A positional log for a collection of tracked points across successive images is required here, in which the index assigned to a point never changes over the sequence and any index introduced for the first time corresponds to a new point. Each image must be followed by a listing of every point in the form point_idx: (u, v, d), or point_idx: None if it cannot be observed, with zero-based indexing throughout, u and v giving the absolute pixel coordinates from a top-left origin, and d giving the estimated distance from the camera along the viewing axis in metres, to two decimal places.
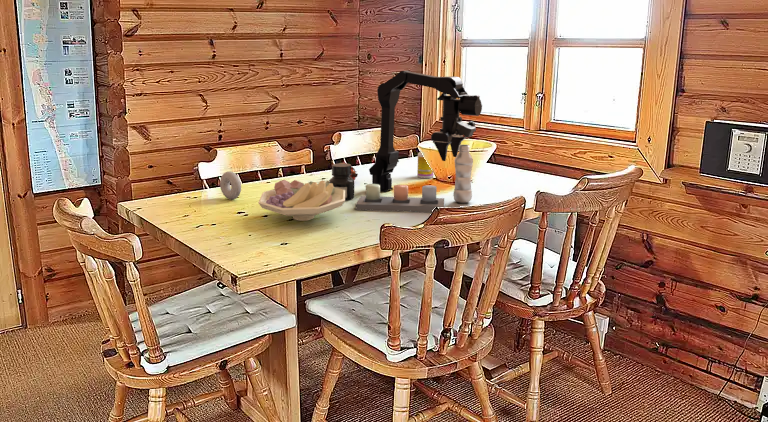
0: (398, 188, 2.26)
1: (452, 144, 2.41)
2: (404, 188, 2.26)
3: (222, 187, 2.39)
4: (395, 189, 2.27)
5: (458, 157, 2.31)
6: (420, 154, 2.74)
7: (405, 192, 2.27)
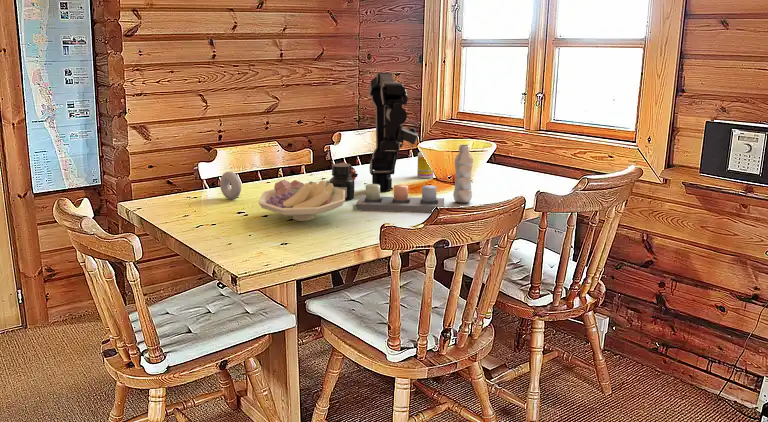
0: (398, 188, 2.26)
1: None
2: (404, 188, 2.26)
3: (222, 187, 2.39)
4: (395, 189, 2.27)
5: (458, 157, 2.31)
6: (420, 154, 2.74)
7: (405, 192, 2.27)
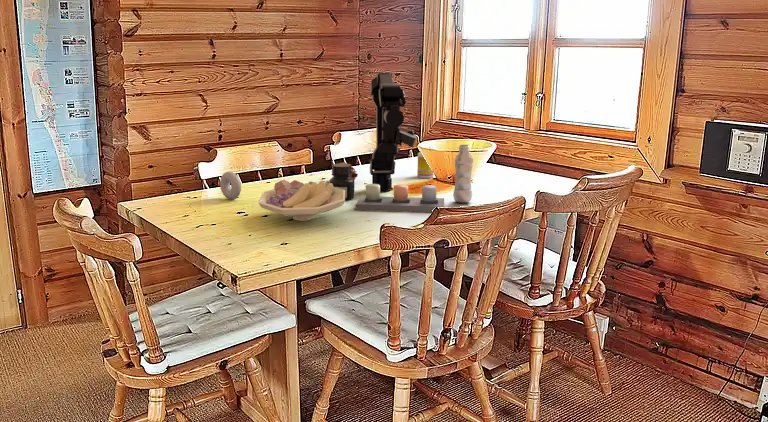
0: (398, 188, 2.26)
1: None
2: (404, 188, 2.26)
3: (222, 187, 2.39)
4: (395, 189, 2.27)
5: (458, 157, 2.31)
6: (420, 154, 2.74)
7: (405, 192, 2.27)
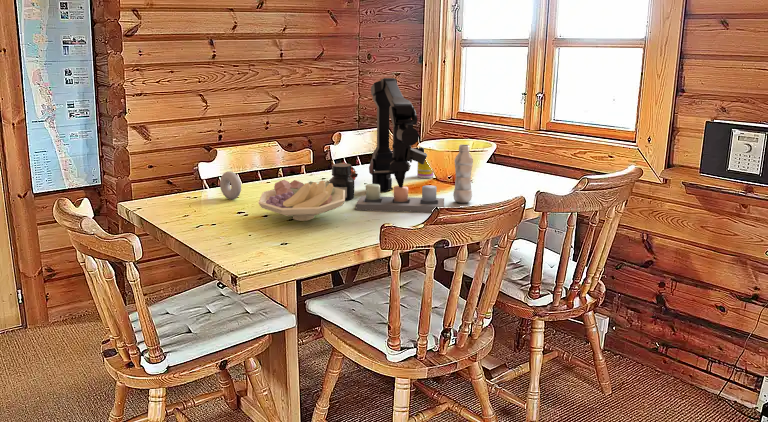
0: (398, 189, 2.26)
1: None
2: (404, 189, 2.26)
3: (222, 187, 2.39)
4: (395, 190, 2.27)
5: (458, 157, 2.31)
6: None
7: (405, 193, 2.27)
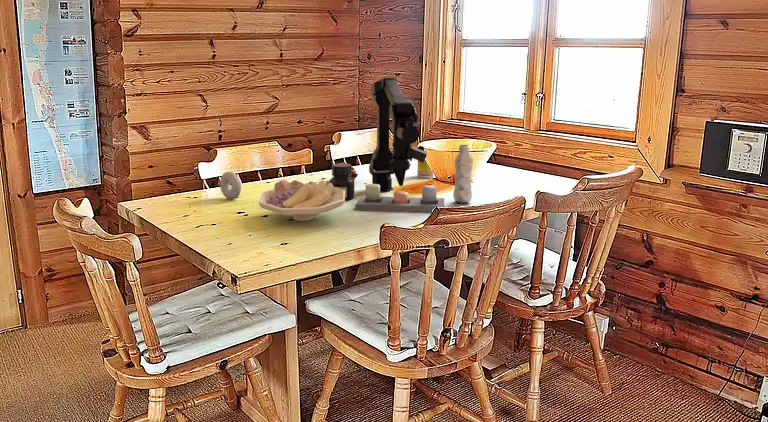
0: (398, 195, 2.27)
1: None
2: (404, 195, 2.27)
3: (222, 187, 2.39)
4: (395, 196, 2.28)
5: (458, 157, 2.31)
6: None
7: (405, 199, 2.28)
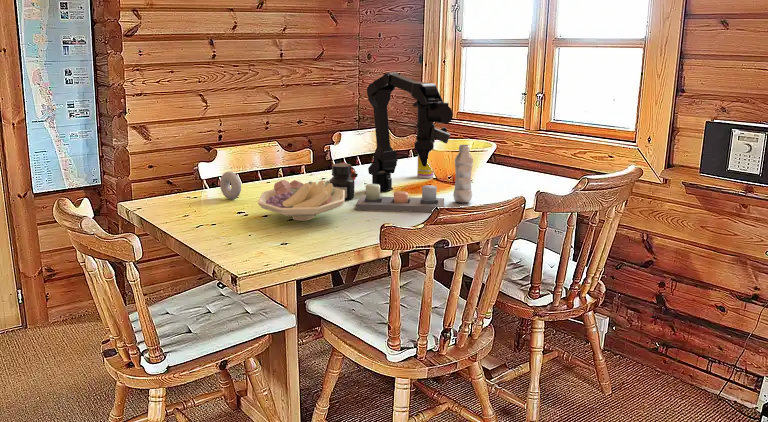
0: (398, 195, 2.27)
1: None
2: (404, 195, 2.27)
3: (222, 187, 2.39)
4: (395, 196, 2.28)
5: (458, 157, 2.31)
6: None
7: (405, 199, 2.28)
